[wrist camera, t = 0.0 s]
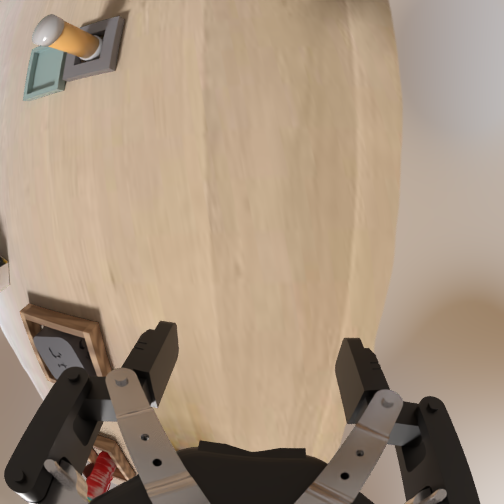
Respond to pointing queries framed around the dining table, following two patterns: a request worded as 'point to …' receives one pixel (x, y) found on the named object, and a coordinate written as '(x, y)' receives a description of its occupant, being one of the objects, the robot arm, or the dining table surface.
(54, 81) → the parts tray
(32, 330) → the square wooden tray
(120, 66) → the dining table surface
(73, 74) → the frame
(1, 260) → the medicine bottle
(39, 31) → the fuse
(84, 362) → the streaming box
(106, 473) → the water bottle
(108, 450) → the bottle rack
